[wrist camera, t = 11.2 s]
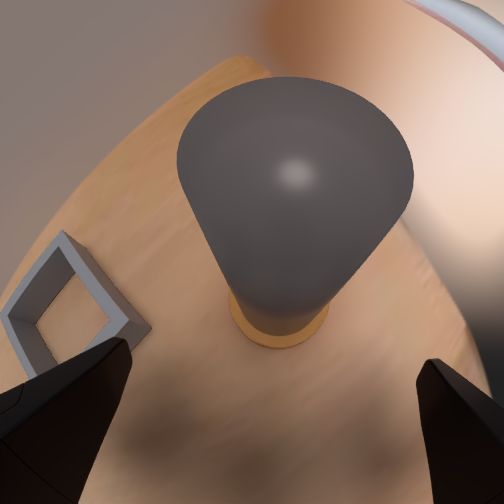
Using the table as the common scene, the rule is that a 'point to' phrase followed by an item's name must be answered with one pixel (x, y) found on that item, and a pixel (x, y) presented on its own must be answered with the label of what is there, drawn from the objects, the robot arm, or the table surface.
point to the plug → (291, 196)
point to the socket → (45, 290)
